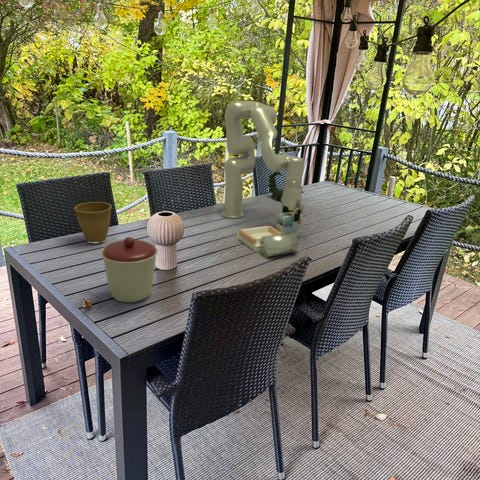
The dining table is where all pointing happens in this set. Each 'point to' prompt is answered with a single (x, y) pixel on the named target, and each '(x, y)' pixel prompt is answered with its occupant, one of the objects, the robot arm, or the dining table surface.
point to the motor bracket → (269, 240)
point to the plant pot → (94, 220)
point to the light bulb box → (288, 223)
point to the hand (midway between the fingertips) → (290, 218)
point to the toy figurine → (273, 189)
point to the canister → (129, 269)
